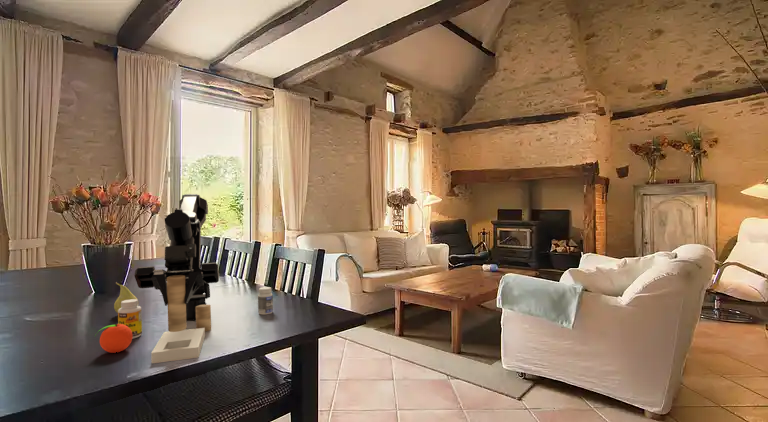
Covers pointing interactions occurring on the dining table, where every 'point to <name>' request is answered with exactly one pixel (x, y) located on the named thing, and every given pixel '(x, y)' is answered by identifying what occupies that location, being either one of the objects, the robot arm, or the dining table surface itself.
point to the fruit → (123, 297)
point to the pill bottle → (265, 301)
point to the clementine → (115, 338)
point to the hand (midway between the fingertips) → (175, 303)
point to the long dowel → (176, 303)
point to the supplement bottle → (131, 316)
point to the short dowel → (203, 317)
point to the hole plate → (178, 345)
